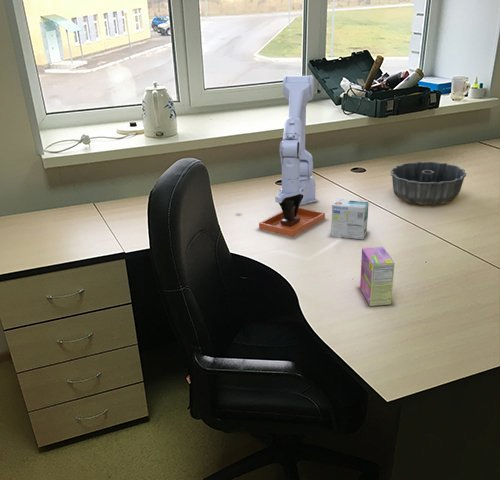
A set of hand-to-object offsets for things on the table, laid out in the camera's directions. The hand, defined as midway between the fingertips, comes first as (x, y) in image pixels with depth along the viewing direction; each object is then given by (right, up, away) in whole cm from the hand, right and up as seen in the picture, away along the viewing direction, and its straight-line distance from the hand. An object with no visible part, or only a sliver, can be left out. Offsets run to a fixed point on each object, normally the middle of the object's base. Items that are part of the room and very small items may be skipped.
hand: (290, 217), depth 197 cm
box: (+19, -30, -44) cm, 56 cm away
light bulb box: (+18, -7, -8) cm, 21 cm away
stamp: (0, -2, +1) cm, 2 cm away
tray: (+1, -2, +1) cm, 3 cm away
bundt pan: (+51, +11, +20) cm, 56 cm away
